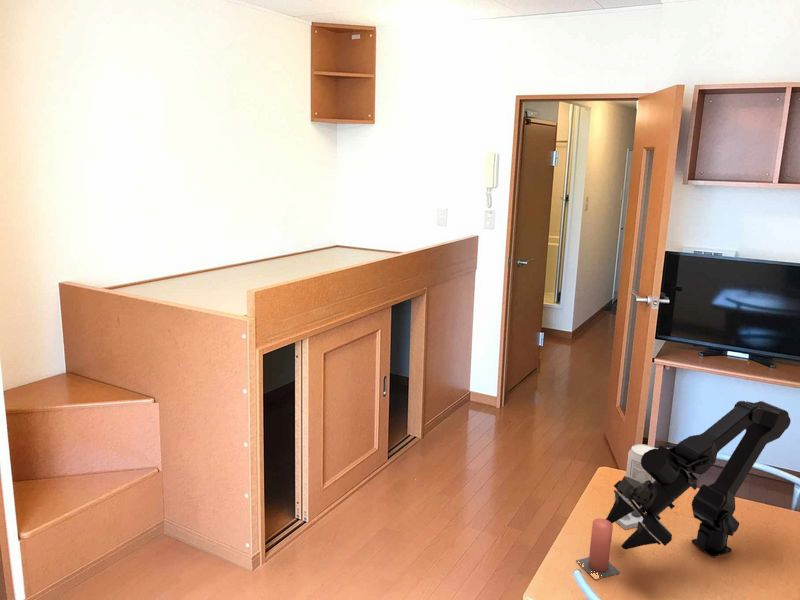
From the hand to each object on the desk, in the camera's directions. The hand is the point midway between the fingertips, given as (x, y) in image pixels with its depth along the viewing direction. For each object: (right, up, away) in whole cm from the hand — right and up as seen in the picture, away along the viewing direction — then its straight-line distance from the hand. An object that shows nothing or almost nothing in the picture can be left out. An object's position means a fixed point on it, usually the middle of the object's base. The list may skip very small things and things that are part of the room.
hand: (614, 535), depth 147 cm
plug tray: (+11, -3, +20) cm, 23 cm away
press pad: (-3, -8, +1) cm, 9 cm away
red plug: (-3, -8, +1) cm, 8 cm away
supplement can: (+17, -1, +30) cm, 34 cm away
